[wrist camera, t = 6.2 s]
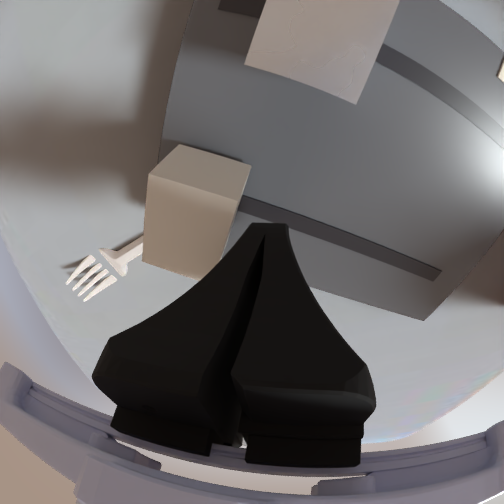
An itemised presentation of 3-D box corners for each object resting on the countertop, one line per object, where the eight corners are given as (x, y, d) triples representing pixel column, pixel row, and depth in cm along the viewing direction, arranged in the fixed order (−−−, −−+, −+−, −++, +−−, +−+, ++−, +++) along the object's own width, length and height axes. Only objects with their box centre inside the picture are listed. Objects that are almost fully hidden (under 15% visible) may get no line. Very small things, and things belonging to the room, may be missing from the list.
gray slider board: (535, 107, 8) (564, 123, 6) (415, 292, 18) (423, 322, 16) (236, -56, 7) (222, -76, 5) (167, 209, 16) (149, 235, 14)
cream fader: (251, 165, 11) (238, 201, 9) (227, 241, 14) (212, 285, 11) (179, 144, 11) (148, 173, 9) (166, 221, 13) (142, 261, 11)
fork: (305, 185, 15) (306, 201, 14) (97, 290, 24) (87, 305, 22) (274, 133, 14) (272, 144, 12) (72, 265, 22) (61, 279, 21)
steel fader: (379, -3, 6) (406, -17, 4) (341, 90, 9) (356, 105, 6) (293, -35, 6) (290, -61, 4) (258, 60, 8) (244, 64, 6)
